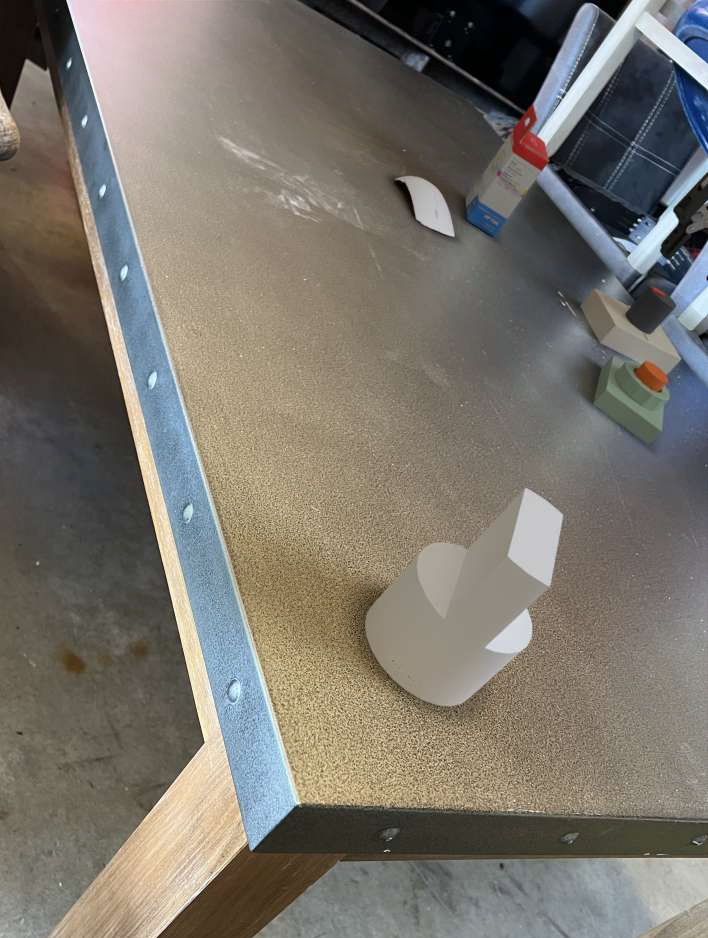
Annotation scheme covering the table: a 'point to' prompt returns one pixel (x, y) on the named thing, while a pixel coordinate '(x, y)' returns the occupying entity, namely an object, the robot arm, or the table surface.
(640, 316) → the program dial
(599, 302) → the dial panel
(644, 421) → the block
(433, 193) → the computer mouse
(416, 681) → the cylinder with rectangular tab
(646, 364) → the button
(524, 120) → the ink box
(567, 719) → the table surface
